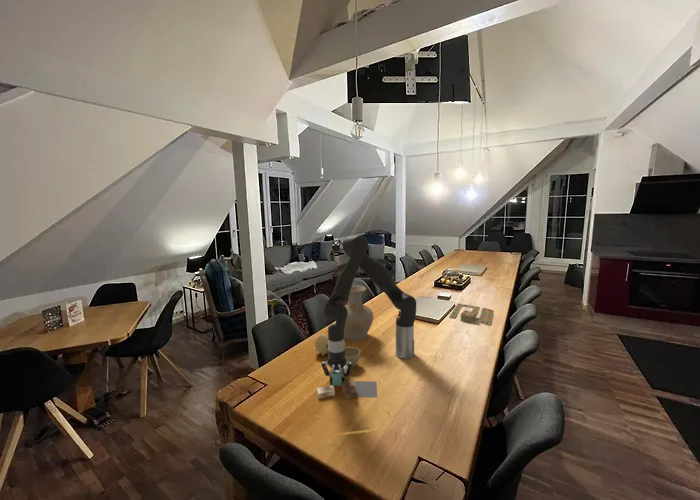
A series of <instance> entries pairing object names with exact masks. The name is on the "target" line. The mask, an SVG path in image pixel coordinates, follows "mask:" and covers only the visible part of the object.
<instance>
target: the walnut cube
mask: <svg viewBox="0 0 700 500" xmlns="http://www.w3.org/2000/svg"><path fill="white" fill-rule="evenodd" d="M354 381H355V380H354V378H352V379H348V380H345V382H342V386H341V387H342V390H343V395H344V399H345V400H350V399H354V398H358V397H357V393H356V388H355V384H354Z"/></svg>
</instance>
